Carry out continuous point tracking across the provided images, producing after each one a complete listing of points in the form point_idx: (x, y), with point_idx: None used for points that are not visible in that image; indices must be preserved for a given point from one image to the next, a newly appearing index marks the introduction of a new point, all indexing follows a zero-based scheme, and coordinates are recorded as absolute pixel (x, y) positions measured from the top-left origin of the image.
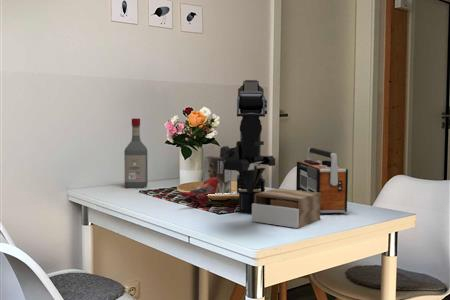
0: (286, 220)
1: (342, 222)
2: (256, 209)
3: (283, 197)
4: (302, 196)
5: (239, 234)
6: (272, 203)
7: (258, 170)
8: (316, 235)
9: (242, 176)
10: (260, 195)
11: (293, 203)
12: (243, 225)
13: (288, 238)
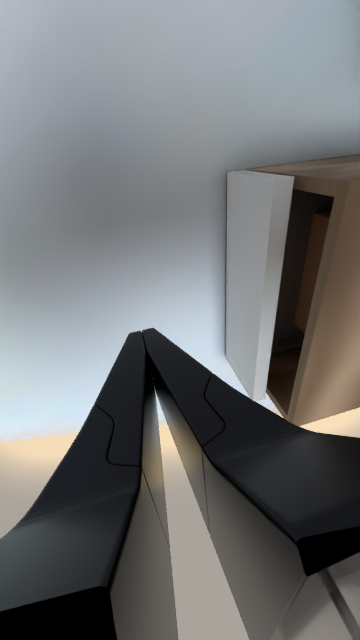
0: (234, 339)
1: None
2: (254, 212)
3: (302, 372)
4: (352, 398)
5: (6, 298)
6: None
7: (247, 621)
8: None
9: (49, 485)
10: (331, 236)
11: None
12: (142, 192)
13: None
